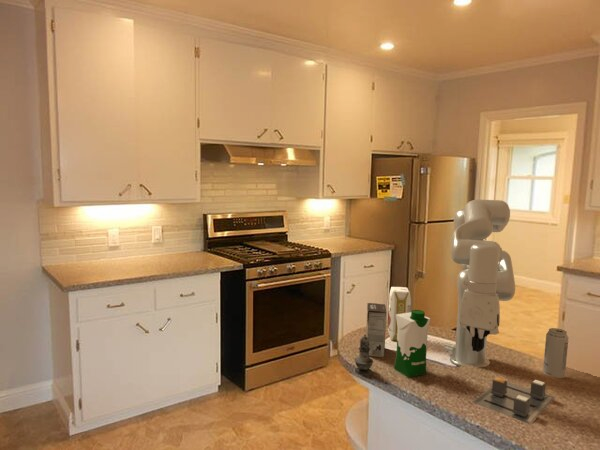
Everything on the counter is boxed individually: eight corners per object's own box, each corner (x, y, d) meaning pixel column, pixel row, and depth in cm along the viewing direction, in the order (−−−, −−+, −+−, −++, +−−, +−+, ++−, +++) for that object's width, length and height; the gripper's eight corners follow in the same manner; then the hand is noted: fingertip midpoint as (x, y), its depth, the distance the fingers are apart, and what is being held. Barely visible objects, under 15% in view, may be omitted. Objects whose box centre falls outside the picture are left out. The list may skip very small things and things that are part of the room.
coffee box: (365, 346, 163) (367, 302, 162) (383, 347, 163) (385, 303, 161) (365, 355, 154) (367, 310, 153) (384, 357, 154) (386, 311, 152)
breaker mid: (491, 393, 126) (492, 379, 126) (496, 388, 129) (497, 375, 129) (502, 396, 124) (503, 383, 124) (506, 392, 127) (508, 379, 126)
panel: (471, 406, 122) (471, 401, 122) (499, 383, 136) (500, 379, 136) (530, 428, 112) (530, 424, 112) (554, 401, 126) (555, 397, 126)
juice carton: (406, 334, 177) (408, 286, 174) (409, 342, 168) (412, 292, 166) (386, 333, 177) (389, 285, 175) (389, 341, 169) (391, 291, 167)
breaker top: (529, 395, 125) (530, 382, 125) (533, 391, 128) (535, 378, 128) (541, 399, 123) (542, 386, 123) (545, 395, 126) (546, 382, 126)
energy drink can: (543, 371, 146) (547, 326, 144) (564, 375, 143) (569, 329, 141) (542, 378, 140) (546, 331, 139) (564, 383, 137) (569, 335, 136)
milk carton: (408, 379, 137) (411, 315, 135) (389, 367, 145) (392, 307, 143) (430, 374, 141) (434, 312, 139) (411, 363, 149) (414, 304, 147)
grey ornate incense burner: (350, 368, 144) (352, 332, 142) (366, 366, 146) (368, 330, 145) (360, 376, 138) (361, 338, 137) (376, 373, 141) (378, 336, 139)
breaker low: (512, 412, 116) (513, 398, 116) (517, 407, 119) (518, 393, 118) (524, 417, 114) (526, 402, 114) (529, 411, 117) (530, 397, 116)
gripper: (450, 284, 131) (446, 346, 132) (503, 294, 120) (498, 361, 122) (462, 281, 136) (458, 340, 138) (514, 290, 126) (509, 354, 127)
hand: (477, 350), depth 130 cm, fingers closed
